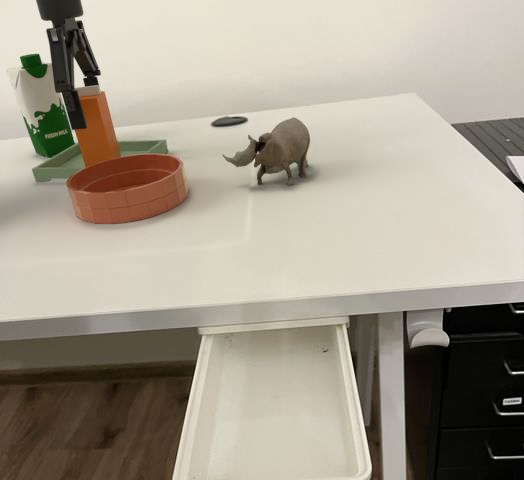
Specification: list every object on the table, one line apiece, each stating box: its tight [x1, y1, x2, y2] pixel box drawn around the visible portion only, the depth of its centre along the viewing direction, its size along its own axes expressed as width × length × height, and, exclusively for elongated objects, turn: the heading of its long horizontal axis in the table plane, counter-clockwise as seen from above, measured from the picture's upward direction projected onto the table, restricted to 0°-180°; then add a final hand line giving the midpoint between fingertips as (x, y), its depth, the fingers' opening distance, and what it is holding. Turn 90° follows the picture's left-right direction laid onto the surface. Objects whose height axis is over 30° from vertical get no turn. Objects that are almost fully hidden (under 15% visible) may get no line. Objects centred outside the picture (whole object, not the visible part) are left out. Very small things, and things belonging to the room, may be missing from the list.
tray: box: [31, 139, 169, 182], centre depth 113 cm, size 22×18×2 cm
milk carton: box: [5, 53, 76, 158], centre depth 122 cm, size 9×9×20 cm
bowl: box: [65, 153, 189, 225], centre depth 92 cm, size 19×19×6 cm
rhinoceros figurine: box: [221, 116, 311, 186], centre depth 94 cm, size 8×14×15 cm
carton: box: [74, 84, 121, 167], centre depth 109 cm, size 6×6×15 cm
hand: (89, 120), depth 109 cm, fingers open, 13 cm apart
